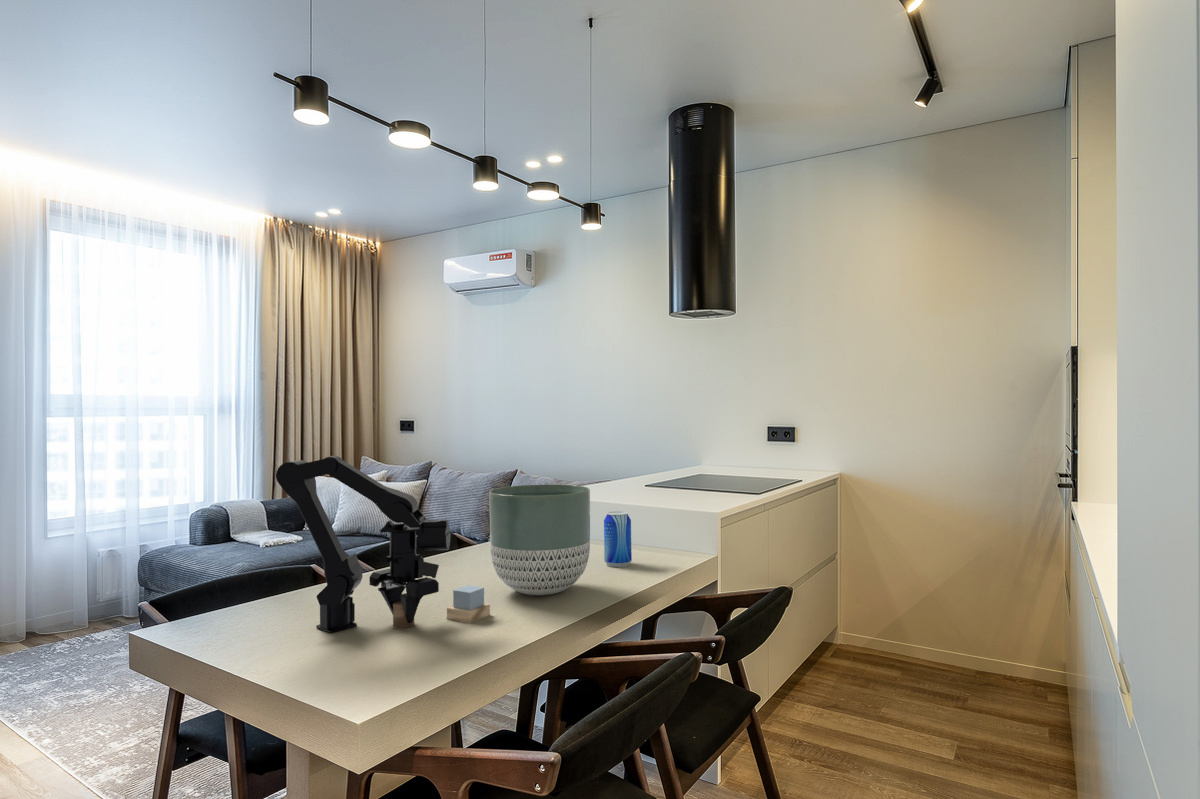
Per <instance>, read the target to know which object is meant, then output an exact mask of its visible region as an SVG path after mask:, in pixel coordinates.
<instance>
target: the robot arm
mask: <svg viewBox="0 0 1200 799" xmlns="http://www.w3.org/2000/svg"><path fill="white" fill-rule="evenodd" d="M326 475H328V476H330V477H332V478H333V479H335V480H337V481H339V482H340V483H341V484H343V485H345V486H347V487H348V488H350V489H352V490H353V491H355V492H357V493H358V494H360V495H361V496H364V497H365V499H366V498H367V499H368V500H369V501H371V502H372V503H374V504H375V505H376V507H377V508H378V509H379V510H380V512H381V513H382V514H384V515H385V516H386V517H387V518H388V519H389V520H388V521H386V523H385V525H384V526H383V527H382V528H380V529H379V532H380V533H389V555H388V556H387V555H386V556H385V562H387V563H389V568H386V569H381V570H377V571H373V572H372V573H371V574H370V576H369V586H372V587H375V588H376V587H378V586H380V587H379V588H377V590H378V592H380V594H381V595H382V598H383V599H384V601H385V602H386V605H387V606H388V609H389V610H390V612H391V614H392V615H393V603H395V602H397V601H402V605H403V609H404V612H405V616H406V619H407V622H408V623H412V622H413V620H414V621H415V616H416V613H417V610H418V606H419V604H420V603H421V602H420V601H421V600H422V598H423V597H424V596H429V595H431V594H435V593H439V591H440V588H439V587H440V585H439V584H440V583H439V581H438V580H436V577H437V573H438V570H439V565H440V564H437V563H432V562H428V561H425V559H424V557H423V556H422V555H421V554H420V553H419V554H418V553H417V546H418V547H419V549H422V551H423V552H425V551H429V552H430V551H431V552H432V551H449V550H450V545H451V531H450V527H449V526H450V525H449V521H448V519H440V520H439V519H438V520H427V518H426V517H425V515H424V514H423V513H422V511H421V510H420V508H418V507H419V505H418V500H417V499H416V498H415V497H414V496H413V495H411V494H410V493H406V492H403V491H402V490H398V489H395V488H392V487H388V486H386V485H384V484H382V483H380V482H379V481H377V480H376V479H374V478H372V477H370V476H369V475H367V474H366V473H364V472H363V471H361V470H360V469H358V468H356V467H355V466H353V465H351V464H349V463H348V462H347V461H345V460H343V458H342V457H340V456H338V455H330V456H326V457H325V458H321V459H318V460H313V461H309V462H308V461H306V460H302V459H298V460H293V461H287V462H284V463H282V464H281V465H279V466H278V468H277V470H276V473H275V479H276V482H277V483H278V485H279V486H280V488H281V489H282V490H283V492H284V493H285V494H286V495H287V497H289V498H290V499H291V500H293V502H295V504H296V505H297V507H298V510H299V512H300V514H301V516H302V517H303V519H304V522H305V524H306V526H307V528H308V530H309V533H310V534H311V536H312V539H313V541H314V543H315V545H316V547H317V549H318V551H319V554H320V556H321V559H322V561H323V571H324V578H325V581H326V584H327V585H326V586H325V587H324V588H322V590H321V591H320V592H318V594H316V600H317V602H318V605H319V624H317V625H316V628H317V629H319V630H321V631H325V632H327V633H336V632H339V631H343V630H346V629H351V628H353V627H357V625H358V623H356V622H355V621H356V620H355V618H356V615H355V613H356V612H355V611H356V609H355V603H354V597H352V595H353V594H354V591H355V589H356V588H357V587H358V586H359V585H360V584H361V582H362V580H363V572H362V570H364V567H363V566H362V565H361V564H360V563H359V558H358V556H357V553H356V552H355V553H353V554H351V555H349V554H348V553H347V552H346V551H345V550H344V548H343V547H342V545H341V543H340V540H339V538H338V535H337V534H336V532H335V530H334V527H333V526H332V523H331V522H330V519H329V518H328V515H327V513H326V511H325V509H324V507H323V504H322V502H321V500H320V499H319V496H318V493H317V479H316V478H317V477H322V476H326ZM404 591H405V592H406V593H404Z"/></svg>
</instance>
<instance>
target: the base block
mask: <svg viewBox="0 0 1200 799" xmlns="http://www.w3.org/2000/svg"><path fill="white" fill-rule="evenodd" d="M490 608H491V604H490V603H485V602H484V605H482V606H480V607H477V608H475V609H472V610H465V609H459V608H453V605H451V606H448V607H446V620H450V621H456V622H462V623H466V622H467V624H472V623H474V622H477V621H478V620H481V618H482V619H483V618H486V617H488V616H491V609H490Z"/></svg>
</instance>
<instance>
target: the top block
mask: <svg viewBox="0 0 1200 799" xmlns="http://www.w3.org/2000/svg"><path fill="white" fill-rule="evenodd" d="M452 594H453V595H452V596H453V597H452V598H453V599H452V600H453V602H452V603H453V605H452V606H453V608H459V609H465V610H472V609H475V608H477V607H480V606H482V605H484V603H485V587H482V586H475V585H464V586H461V587H458V588H456V589H454V590H452Z"/></svg>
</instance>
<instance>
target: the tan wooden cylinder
mask: <svg viewBox="0 0 1200 799" xmlns="http://www.w3.org/2000/svg"><path fill="white" fill-rule="evenodd" d="M392 623H393V624H392V626H393V627H392V628H395V629H400V630H402V629H409V628H412V627H413V626H415V619H414V620H413V622H412V623H408V622H407V619H406V616H405V612H404V609H403V605H402V601H397V602H395V603H393V614H392Z"/></svg>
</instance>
